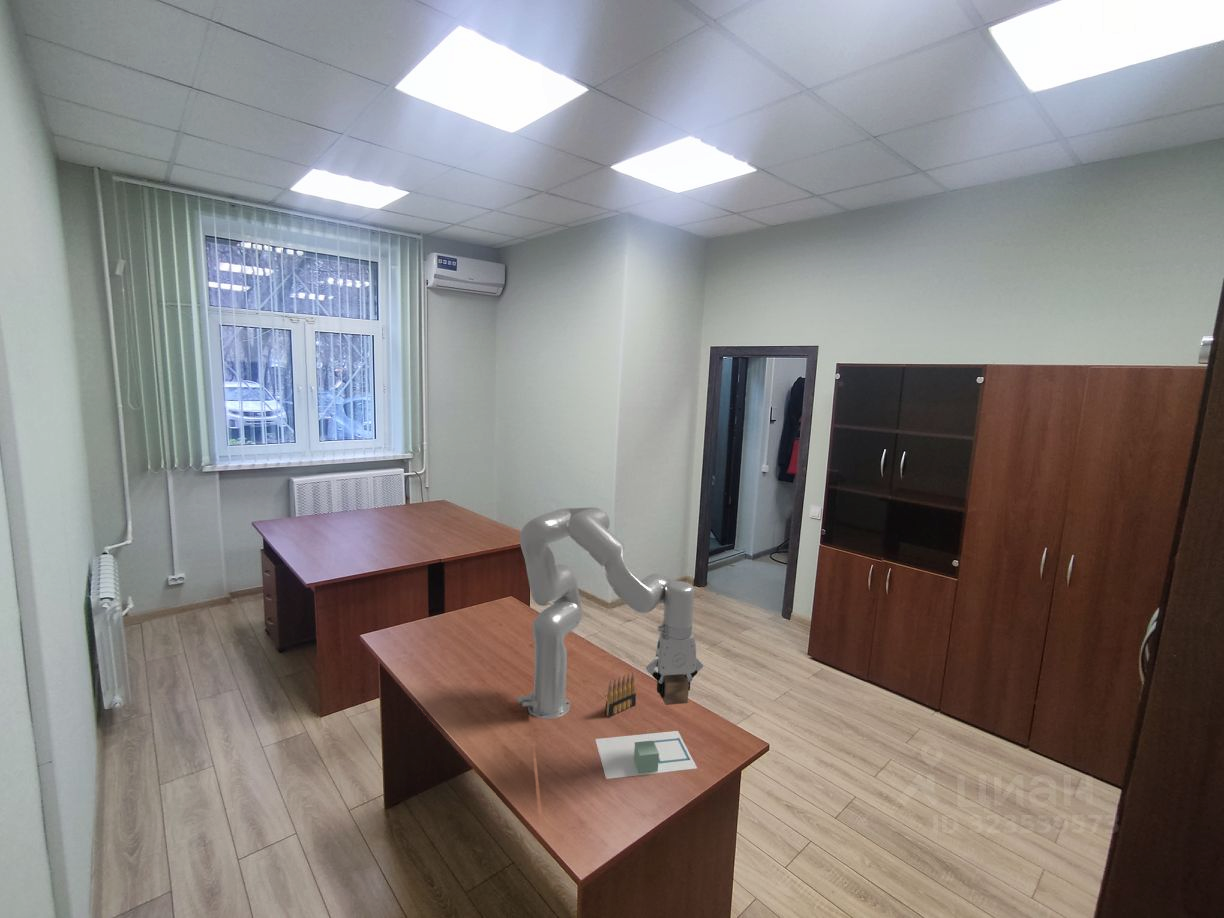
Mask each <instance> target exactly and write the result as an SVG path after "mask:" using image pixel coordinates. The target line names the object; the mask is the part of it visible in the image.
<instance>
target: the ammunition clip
mask: <svg viewBox="0 0 1224 918" xmlns="http://www.w3.org/2000/svg"><path fill="white" fill-rule="evenodd" d="M636 702H637V693H636V674H635V671H634V670H633V671H632V672H631V674H630V673H629V672H628V673H627V676H626V675H625V674H624V675H623V677H621V676H619V677H618V681H617V678H614V679H613V681H612V680H609V683H608V691H607V699H606V702H605V710H604V711H605V712H604V713H605V714H604V715H605V716H606V717H607V718H612V717H613V716H616V715H618V714H620V713H623V712H625V711H626V710H629V709H631V708H633V707H635V706H636Z"/></svg>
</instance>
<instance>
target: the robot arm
mask: <svg viewBox="0 0 1224 918" xmlns="http://www.w3.org/2000/svg"><path fill="white" fill-rule="evenodd" d="M609 529H610V518H609V516H608V515H607V512H605V511H604V510H603V509H601V508H599V507H594V506H593V507H591V506H589V507H567V508H559V509H557V510H553V511H551V512H547V513H544V514H541V515H539V516H536V517H534V518H532V519H531V520H529V521H528V522H527V523H526V524H525V525H524V526H523V527H522V529H521V531H520V534H519V535H520V536H519V542H520V544H519V545H520V548H521V552H522V554H523V557H524V562H525V568H526V574H527V580H528V583H529V590H530V594H531V595H530V596H531V598H532V600H533V602H534V603H535V604H536V605H538V606H541V607H545V606H548V605H550V606H549V607H546V608H545V609H544V610H542V611H541V612H539V613H538V614H537V615H536V616H535V618H534V619H533V622H532V629H531V630H532V636H533V642H534V671H533V672H534V673H533V674H534V675H533V690H532V691H531V694H528V695H520V696H518V697H517V703H518V704H522V708H527V710H528V714H530V716H531V717H532V716H534V717H537V718H539V719H542V720H543V719H544V720H551V719H552V720H553V719H557V718H560V717H562V716H564V715H566V714H568V712H569V710H570V708H571V703H570V700H569V699H568V698H567V697H566V693H567V691H566V689H567V687H566V686H567V662H568V660H567V659H568V658H567V657H568V652H567V647H566V645H565V641H564V639H565V636H567V635H568V634H569V633H570V632H572V631H573V630H575V629H576V628H577V627H578V626H579V625H580V623H581V622H582V618H583V607H582V602H581V596H580V592H579V591H580V590H579V587H578V580H577V578H576V575H575V573H574V572H573V570H572V568H570V567H569V566H567V565H565V564H556V560H555V556H554V553H553V552H552V549H551V548H550V547H549V545H550V544H552V543H555V542H557V541H560V540H562V539H565V538H567V537H570V538H571V539H572V540H573V541H574V542H575V543H576V544H577V545H578V546H580V547H581V549H582V550H584V551H585V552H586V553H587V554H588V555H589V556H590V557H591V558H592V559H594V561H596V562H597V564H599V565H600V566H601V568H602V569H603V571H604V575H605V578H606V580H607V582H608V584H609V586H610V588H611V589H612V591H613V593H615V595H616V596H617V597H618V598H619V599H620V600H621V601H623V603H624V604H626V606H628V607H629V608H631V609H632V610H633V611H635V612H637V613H640V614H648V613H651V612H652V611H654V609H656V608H657V607H658V606H659V605H663V621H662V624H661V625H658V626H657V632H660V633H659V636H658V641H657V645H656V650H655V656H654V657H655V658H654V659H653V660H651V662H649V664H647V666H646V668H645V669H646V671H647V673H648V674H650V675H651V676H652V677H653V678H654V679H655V680H656V681H657V683H656V692H657V694H659V696H660V698H661V699H662V698H664V689H665V684H664V679H665V677H666V675H681V674H684V675H685V676H686V678H687V679H688V681H689V689H688V692H690V691H691V682H693V679H694V677H695V676H697V674H698V672H700V671H701V670H702V668H704V664H703V663H702V662H701V661H700V660H699V659H698V658H697V647H696V646H697V645H696V636H695V634H694V633H693V631H692V630H693V616H694V605H695V604H694V603H695V602H694V601H695V600H694V599H695V588H694V587H693V585H692V584H691V583H689V582H687V581H682V580H674V579H672V578H670V577H667V576H665V575H664V574H659V573H651V574H649V575H647V576H646V577H644V578H643V579H641V580H639V579H638V578H637V577H636V576H634V574H633V573H632V572H631V571H630V570H629V569H628V567H627V565H626V563H625V560H624V553H625V552H624V551H625V544H624V543H623V542H622V541H621V540H620V539H619V538H618V537H617V536H616V535H614V534H613V533H612V532H611V531H610V530H609ZM551 604H552V605H551ZM656 667H657V671H656V670H655V668H656Z"/></svg>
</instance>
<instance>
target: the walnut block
mask: <svg viewBox="0 0 1224 918" xmlns="http://www.w3.org/2000/svg"><path fill="white" fill-rule="evenodd" d="M664 684H665V689H664V698H661V699H662V701H663V703H664V705H665V706H670V705H671V706H672V705H683V704H688V702H689V691H688V689H689V681H688V679H687V678H686V676H685V674H681V675H666V677H665V679H664Z"/></svg>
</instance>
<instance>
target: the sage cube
mask: <svg viewBox="0 0 1224 918" xmlns="http://www.w3.org/2000/svg"><path fill="white" fill-rule="evenodd" d="M658 761H659V752H658V750H657V748H656V746H655V743H654V741H643V742H635V748H634V762H635V764H636V767H637V770H638V773H639V774H640V773H648V772H657V771H658Z"/></svg>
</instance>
